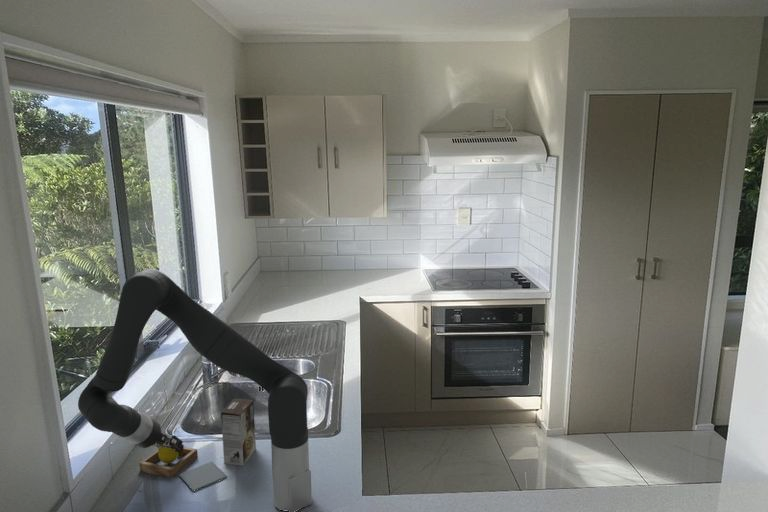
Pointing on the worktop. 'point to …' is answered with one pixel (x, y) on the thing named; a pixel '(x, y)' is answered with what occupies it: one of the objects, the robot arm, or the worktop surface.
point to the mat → (203, 475)
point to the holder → (166, 471)
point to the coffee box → (238, 431)
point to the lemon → (167, 455)
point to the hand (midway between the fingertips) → (172, 447)
